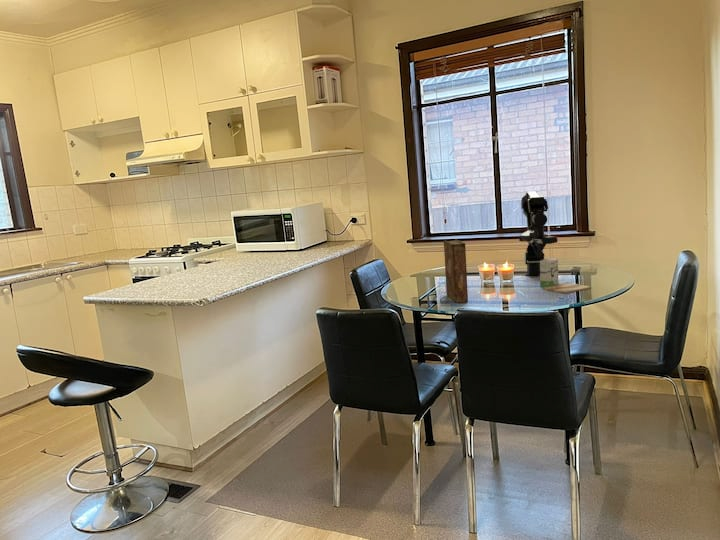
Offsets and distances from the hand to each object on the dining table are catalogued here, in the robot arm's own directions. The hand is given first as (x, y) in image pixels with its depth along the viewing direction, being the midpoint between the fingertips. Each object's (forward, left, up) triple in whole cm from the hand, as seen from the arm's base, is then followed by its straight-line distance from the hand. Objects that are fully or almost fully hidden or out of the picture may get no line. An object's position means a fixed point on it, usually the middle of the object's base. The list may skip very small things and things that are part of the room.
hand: (538, 257), depth 250 cm
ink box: (+7, -1, -12) cm, 14 cm away
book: (0, -46, -12) cm, 47 cm away
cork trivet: (+18, -1, -12) cm, 21 cm away
